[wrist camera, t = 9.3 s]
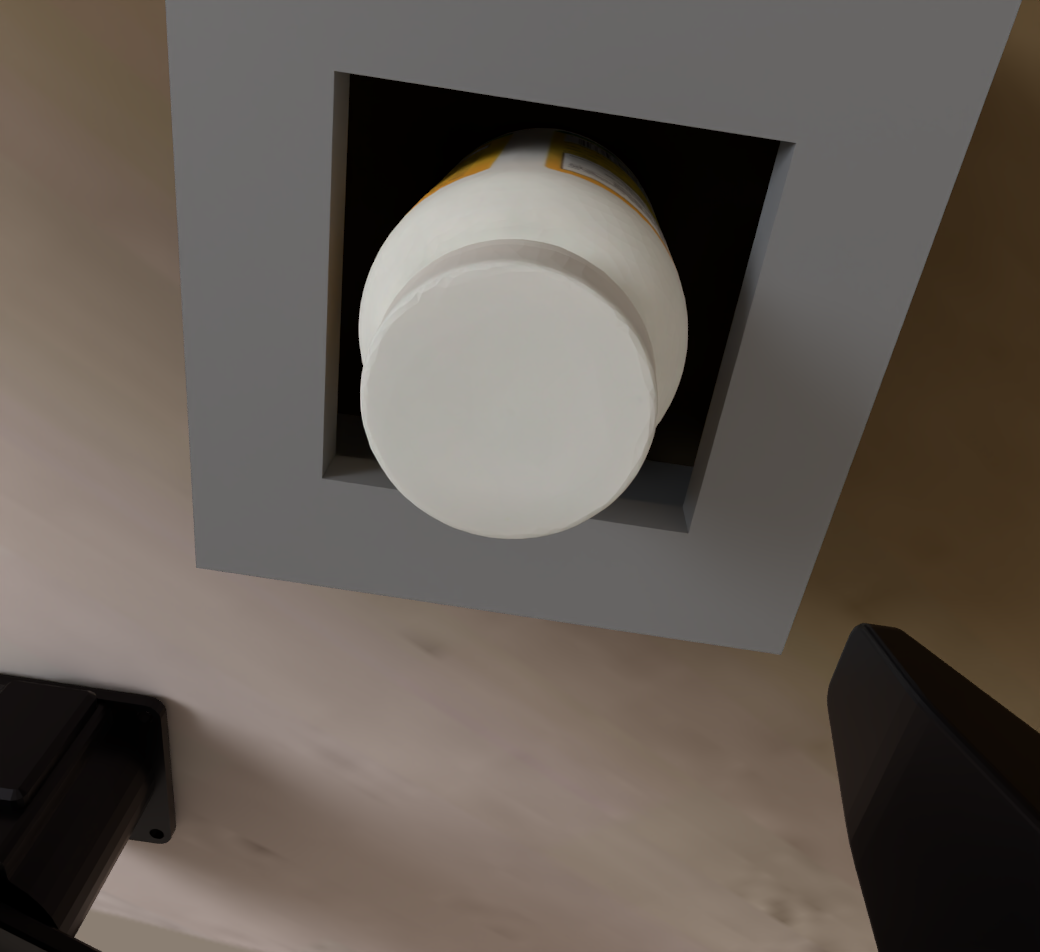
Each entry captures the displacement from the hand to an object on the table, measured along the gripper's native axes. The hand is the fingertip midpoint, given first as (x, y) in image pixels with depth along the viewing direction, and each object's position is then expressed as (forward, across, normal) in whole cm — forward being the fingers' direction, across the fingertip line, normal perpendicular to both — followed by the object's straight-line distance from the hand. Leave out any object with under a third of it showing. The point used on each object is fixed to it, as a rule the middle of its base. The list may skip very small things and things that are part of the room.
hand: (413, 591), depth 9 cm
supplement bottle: (+13, -1, -1) cm, 13 cm away
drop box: (+13, -1, -1) cm, 13 cm away
